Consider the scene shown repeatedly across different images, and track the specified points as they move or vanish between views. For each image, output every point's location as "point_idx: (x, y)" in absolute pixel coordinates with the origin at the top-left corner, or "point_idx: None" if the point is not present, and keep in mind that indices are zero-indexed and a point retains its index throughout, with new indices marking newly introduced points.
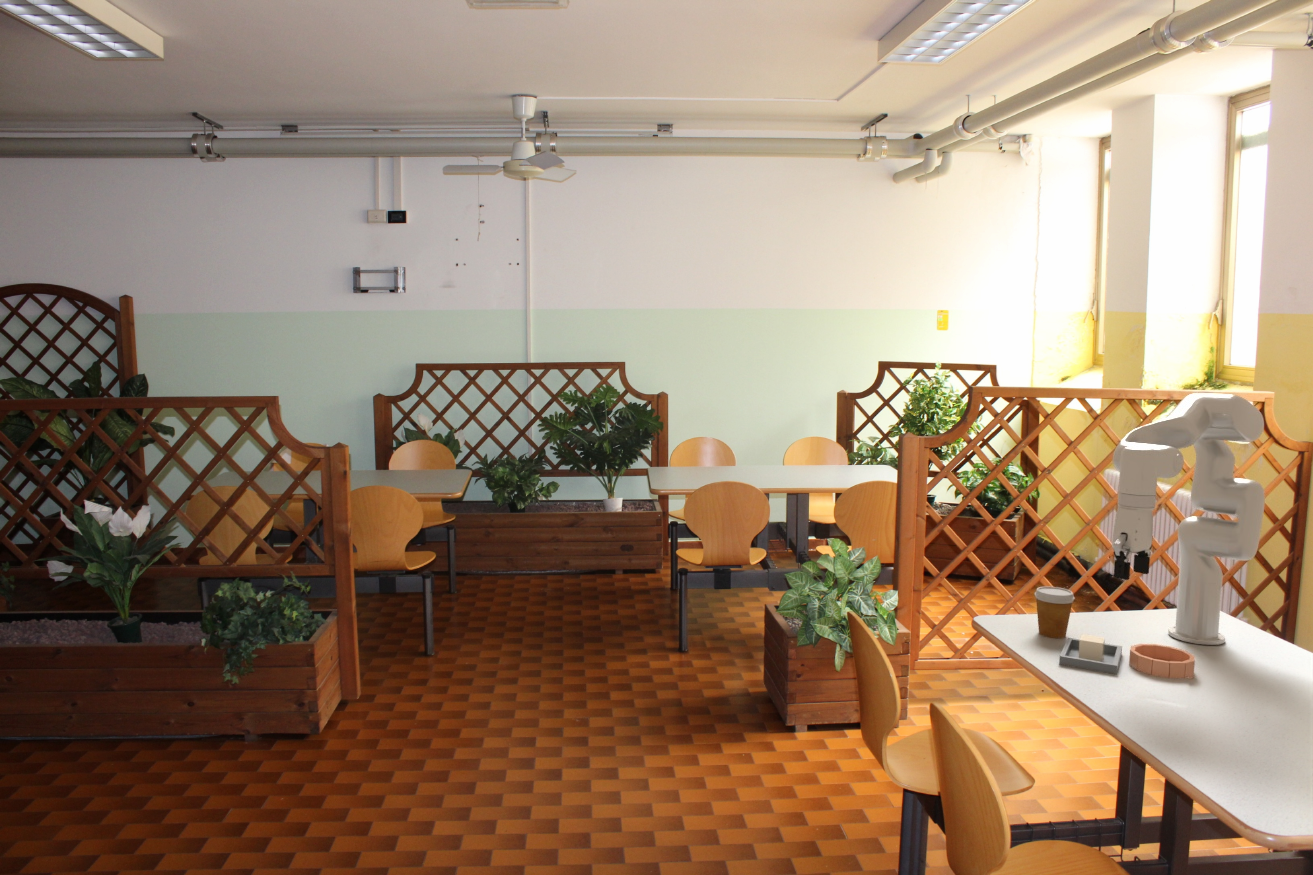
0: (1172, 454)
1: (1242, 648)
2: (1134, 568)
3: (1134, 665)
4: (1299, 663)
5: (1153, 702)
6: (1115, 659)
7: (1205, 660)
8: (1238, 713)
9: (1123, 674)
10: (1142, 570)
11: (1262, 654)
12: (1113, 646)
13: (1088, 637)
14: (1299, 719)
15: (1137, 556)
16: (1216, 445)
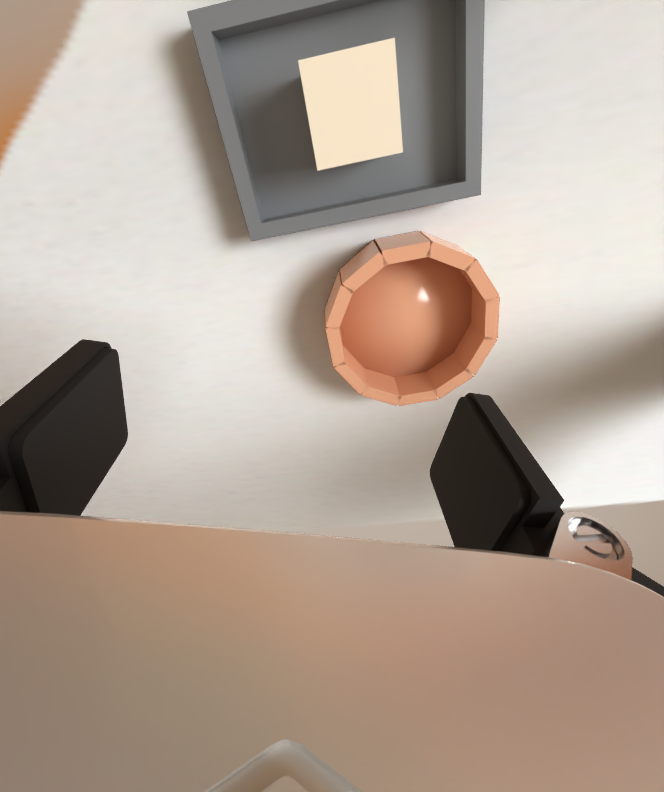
0: None
1: None
2: (466, 413)
3: (350, 263)
4: (616, 500)
5: (142, 354)
6: (311, 218)
7: (549, 377)
8: (228, 472)
9: (290, 245)
10: (445, 460)
11: (657, 451)
12: (464, 167)
13: (362, 86)
14: (280, 530)
15: (507, 514)
16: None
